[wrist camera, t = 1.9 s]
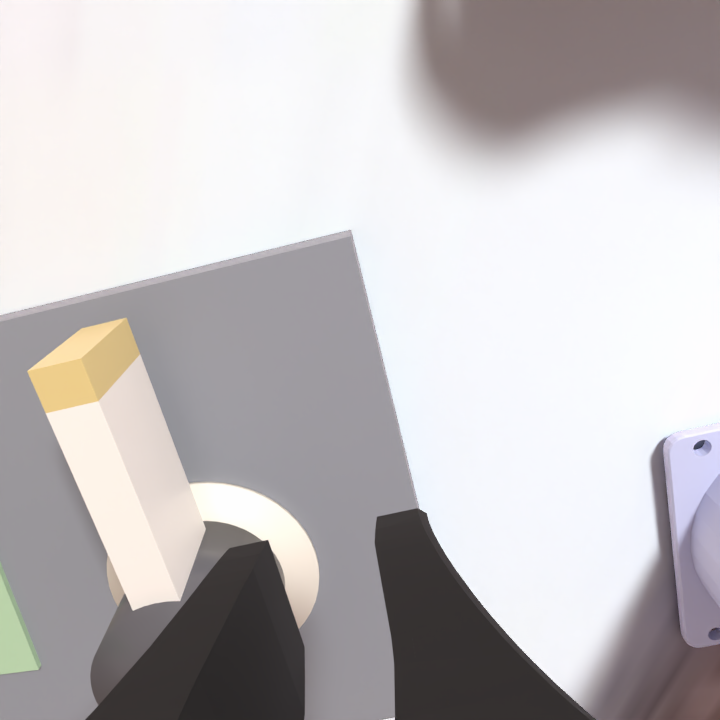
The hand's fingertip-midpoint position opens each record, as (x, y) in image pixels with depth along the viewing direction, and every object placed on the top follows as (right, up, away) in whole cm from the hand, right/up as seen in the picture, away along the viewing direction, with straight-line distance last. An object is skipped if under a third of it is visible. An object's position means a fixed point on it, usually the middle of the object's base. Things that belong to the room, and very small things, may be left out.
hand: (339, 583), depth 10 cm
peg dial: (-5, 0, +9) cm, 10 cm away
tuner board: (-6, -2, +11) cm, 13 cm away
